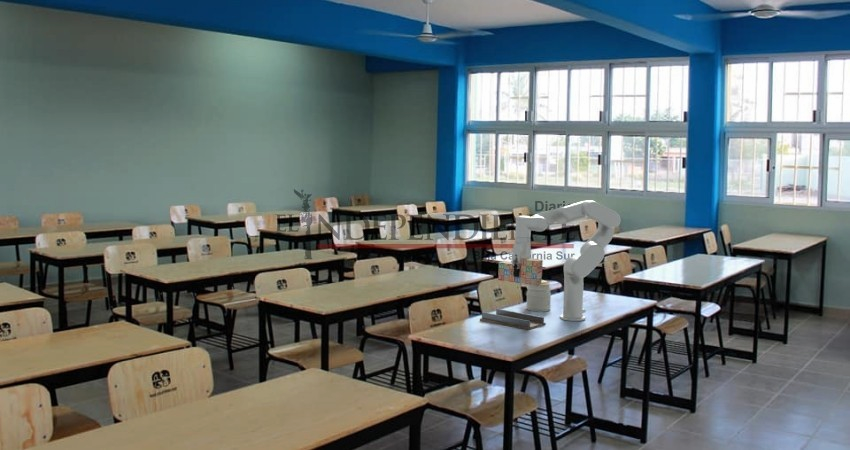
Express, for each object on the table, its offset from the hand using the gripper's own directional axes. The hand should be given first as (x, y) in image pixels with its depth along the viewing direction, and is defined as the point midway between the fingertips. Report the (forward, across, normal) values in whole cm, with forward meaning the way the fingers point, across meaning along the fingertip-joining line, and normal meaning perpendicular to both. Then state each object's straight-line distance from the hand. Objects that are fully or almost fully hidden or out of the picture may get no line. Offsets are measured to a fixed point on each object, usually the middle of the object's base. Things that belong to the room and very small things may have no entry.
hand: (521, 275), depth 379 cm
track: (+22, +10, +3) cm, 24 cm away
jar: (+22, -27, -7) cm, 36 cm away
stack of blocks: (+4, 0, -1) cm, 4 cm away
